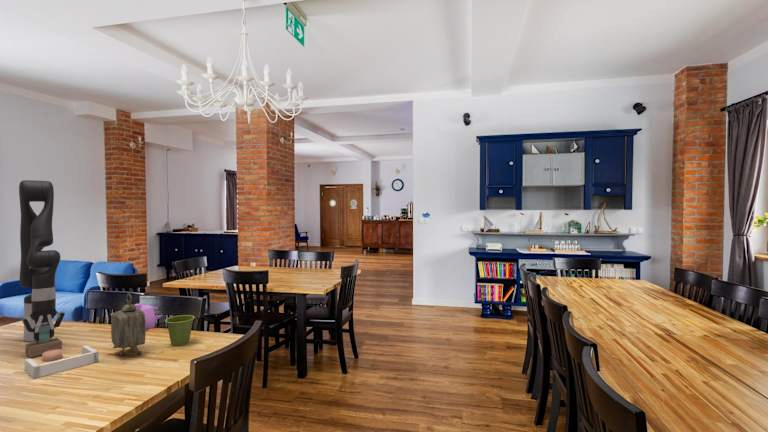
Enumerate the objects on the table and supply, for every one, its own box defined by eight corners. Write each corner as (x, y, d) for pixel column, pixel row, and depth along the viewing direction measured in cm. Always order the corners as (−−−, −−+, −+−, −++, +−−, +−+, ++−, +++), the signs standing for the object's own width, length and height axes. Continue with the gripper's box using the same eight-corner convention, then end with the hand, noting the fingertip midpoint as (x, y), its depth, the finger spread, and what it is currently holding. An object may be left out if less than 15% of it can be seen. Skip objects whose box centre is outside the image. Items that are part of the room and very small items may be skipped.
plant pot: (158, 345, 168) (158, 320, 168) (182, 337, 179) (182, 314, 179) (178, 349, 164) (178, 323, 164) (200, 341, 175) (200, 316, 175)
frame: (24, 370, 142) (24, 359, 142) (86, 354, 157) (86, 345, 157) (34, 378, 134) (34, 367, 134) (98, 361, 150) (98, 351, 150)
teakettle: (164, 323, 203) (164, 300, 203) (143, 333, 186) (143, 308, 186) (132, 323, 204) (132, 300, 204) (108, 333, 187) (108, 307, 187)
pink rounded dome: (40, 360, 152) (40, 352, 152) (59, 355, 157) (59, 348, 157) (45, 363, 149) (45, 355, 149) (64, 358, 154) (64, 351, 154)
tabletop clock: (145, 355, 157) (145, 294, 157) (119, 361, 151) (119, 298, 151) (135, 346, 167) (135, 289, 167) (110, 352, 161) (110, 292, 160)
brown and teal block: (25, 353, 157) (25, 327, 157) (56, 346, 165) (56, 321, 165) (30, 357, 153) (30, 330, 153) (61, 350, 161) (61, 324, 161)
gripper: (62, 294, 167) (62, 333, 167) (18, 300, 156) (18, 342, 156) (68, 296, 163) (68, 336, 163) (23, 302, 151) (23, 346, 151)
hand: (43, 339), depth 159 cm, fingers closed on brown and teal block, 3 cm apart
